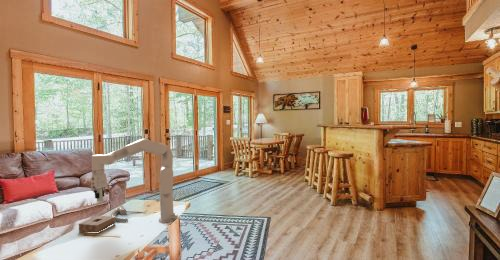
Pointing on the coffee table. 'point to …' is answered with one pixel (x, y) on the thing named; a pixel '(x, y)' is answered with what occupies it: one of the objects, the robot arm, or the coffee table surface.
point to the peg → (100, 195)
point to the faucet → (122, 211)
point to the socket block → (96, 224)
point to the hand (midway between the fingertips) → (99, 197)
